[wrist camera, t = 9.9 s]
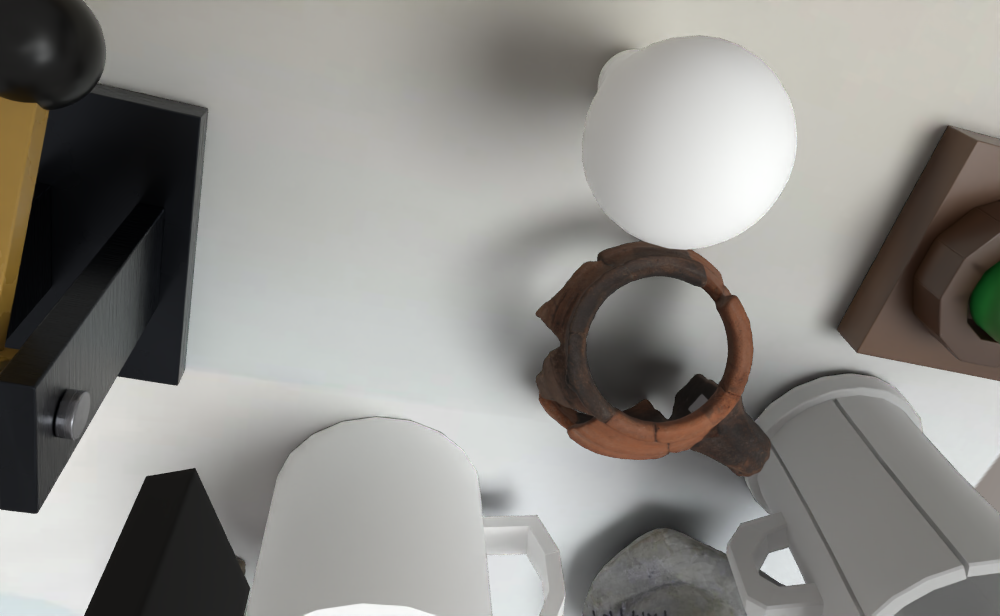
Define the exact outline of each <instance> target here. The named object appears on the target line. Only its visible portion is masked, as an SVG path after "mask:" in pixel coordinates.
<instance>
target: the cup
mask: <svg viewBox="0 0 1000 616" xmlns="http://www.w3.org/2000/svg"><path fill="white" fill-rule="evenodd" d="M755 422H756V423H757V424H758V425H759V426H760V428H761V429H762V430H763V431H764V433H765V434H766V435H767V436H768V437H769V439H770V441H771V449H770V457H769V459H768V460H767V461H766V462H765V464H764V466H763V468H762V470H761V471H760V472H759V473H756V474H754V475H752V476H750V477H745V476H744V478H745V481H746V484H747V486H748V488H749V490H750V492H751V494H752V496H753V497H754V499H755V501H756V502H757V503H758V504H759V505H760V506H761V507H762V508H763V509H764V510H765V511H766V512H767V513H768V514H771V515H768V516H764V517H761V518H757V519H754V520H751V521H747V522H744V523H741V524H740V526H739V527H738V529H737V530H736V532H735V533H734V535H733V536H732V538H731V539H730V541H729V542H728V544H727V552H726V555H727V558H728V561H729V564H730V567H731V570H732V573H733V576H734V579H735V582H736V585H737V588H738V591H739V594H740V597H741V600H742V603H743V606H744V609H745V611H746V614H747V616H1000V514H999V513H998V512H997V511H996V510H995V509H994V508H993V507H992V506H991V505H990V504H989V503H988V502H987V501H986V500H985V499H984V498H983V497H982V496H981V495H980V494H979V493H978V492H977V491H976V490H975V489H974V488H973V487H972V486H971V485H970V484H969V483H968V482H967V480H966V479H965V478H964V477H963V476H962V475H961V474H960V473H959V472H958V471H957V470H956V469H955V468H954V467H953V466H952V465H951V464H950V462H949V461H948V460H947V459H946V458H945V457H944V456H943V455H942V454H941V453H940V451H939V450H938V449H937V448H936V447H935V446H934V445H933V444H932V443H931V442H930V440H929V439H928V438H927V437H926V436H925V435H924V434H923V428H922V423H921V418H920V417H919V415H918V414H917V413H916V411H915V410H914V409H913V407H912V406H911V405H910V403H909V402H908V401H907V400H906V399H905V397H904V396H903V395H902V394H901V393H900V392H899V391H898V390H897V388H895V387H893V386H892V385H890V384H888V383H886V382H884V381H882V380H880V379H879V378H877V377H872V376H865V375H859V374H852V373H849V374H841V375H833V376H825V377H821V378H818V379H815V380H813V381H810V382H808V383H805V384H802V385H800V386H797V387H794V388H793V389H792V390H790V391H789V392H787V393H786V394H784V395H783V396H781V397H780V398H778V399H777V400H775V401H774V402H772V403H771V404H770V405H769V406H768V407H767V408H766V409H765V410H764V411H763V413H762V414H761V415H760V416H759V417H758V418H757V419H756V420H755ZM788 547H789V549H790V551H791V553H792V555H793V557H794V559H795V561H796V563H797V565H798V567H799V569H800V572H801V574H802V576H803V578H804V581H805V583H806V584H801V585H792V586H782V587H779V586H777V585H775V584H774V583H772V582H770V581H768V580H767V579H765V578H763V577H762V576H760V575H759V570H760V568H761V566H762V564H763V563H764V561H765V559H766V557H767V555H768V554H769V553H771V552H774V551H778V550H781V549H784V548H788Z"/></svg>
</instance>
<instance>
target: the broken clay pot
mask: <svg viewBox="0 0 1000 616" xmlns="http://www.w3.org/2000/svg"><path fill="white" fill-rule="evenodd" d="M654 276H665V277H672V278H676V279H680V280H683V281H685V282H687V283H690V284H692V285H694V286H698V287H701V288H703V289H704V290H705V291H706V292H707V293H708V294H709V295H710V296H711V298H712V299H713V300H714V302H715V304H716V308H717V311H718V312H719V314H720V316H721V318H722V321H723V323H724V326H725V330H726V334H727V341H728V358H727V363H726V368H725V372H724V375H723V377H722V379H721V381H720V383H719V385H718V384H716V383H715V382H714V381H713V380H708V379H706V378H705V377H704V376H703V375H701V374H696V375H694V376H693V378H692V379H691V380H690V381H689V382H688V384H687V385H686V386H685V387H684V388H682V389H681V390H680V391H679V392H678V393H677V394H676V396H675V403H674V406H673V412H672V415H671V417H670V418H669V419H666V418H665V417H664V416H663V415H662V414H661V412H659V411H658V410H656V409H654V407H653V405H652V404H651V403H650V401H649V400H647V399H644V400H642V401H641V402H639V403H638V404H636V405H635V406H633V407H631V408H629V409H627V410H625V411H620V410H619V409H617V408H615V407H613V406H612V405H611V404H610V403H609V402H608V401H607V400H606V399H605V398H604V397H603V396H602V394H601V393H600V392H599V390H598V389H597V387H596V385H595V383H594V381H593V379H592V376H591V373H590V370H589V366H588V361H587V353H586V352H587V344H586V337H587V335H588V331H589V328H590V325H591V322H592V321H593V319H594V317H595V314H596V312H597V311H598V309H599V307H600V306H601V305H602V303H603V302H604V301H605V300H606V299H607V297H609V296H610V295H611V294H612V293H614V292H615V291H616V290H617V289H619V288H620V287H622V286H624V285H626V284H628V283H630V282H632V281H636V280H639V279H642V278H647V277H654ZM536 316H537V317H539V318H541V320H542V321H543V322H544V323H545V324H546V326H547V327H548V328H549V329H551V330H552V332H553V333H554V334H555V335H556V336H557V337H558V339H559V341H560V343H561V344H560V347H558V348H557V349H554V350H552V351H551V352H550V353H549V354H548V356H547V357H546V358H545V360H544V363H543V367H542V371H541V372H540V373H539V374H538V375H537V377H536V383H537V386H538V389H539V401H540V403H541V405H542V406H543V408H544V409H545V411H546V412H547V413H548V414H549V415H550V416H551V417H552V418H553V419H555V420H556V421H557V422H558V423H559V424H560V425H562V426H563V427H564V428H566V429H567V433H568V435H569V437H570V438H571V439H572V440H574V441H575V442H576V443H578V444H579V445H581V446H582V447H584V448H586V449H588V450H590V451H593V452H595V453H597V454H601V455H605V456H609V457H613V458H620V459H634V460H645V459H658V458H661V457H664V456H666V455H667V454H669V453H670V452H671V453H677V452H680V451H685V450H689V449H690V450H693V451H696V452H699V453H702V454H704V455H706V456H708V457H710V458H712V459H714V460H716V461H718V462H720V463H722V464H724V465H725V466H727V467H728V468H729V469H730V470H731V471H732V472H734V473H735V474H736V475H737V476H745V477H750V476H752V475H754V474H756V473H759V472H760V471H761V470H762V468H763V466H764V464H765V462H766V461H767V460H768V459H769V457H770V449H771V441H770V439H769V437H768V436H767V435H766V434H765V433H764V431H763V430H762V429H761V428H760V426H759V425H758V424H757V423H756V422H755V421H754V420H752V419H751V418H750V417H749V415H748V414H747V413H746V411H745V410H744V407H743V405H742V397H741V394H742V393H743V391H744V388H745V385H746V383H747V381H748V376H749V373H750V369H751V365H752V358H753V341H752V332H751V328H750V321H749V318H748V317H747V314H746V312H745V310H744V308H743V306H742V304H741V302H740V300H739V299H738V297H737V296H736V295H731V293H730V292H729V290H728V289H727V288H726V287H725V286H724V284H723V280H722V277H721V274H720V272H719V271H718V270H717V269H716V268H715V267H714V266H713V265H712V264H711V263H710V262H708V261H707V260H706V259H705V258H703V257H702V256H701V255H699V254H698V253H696V252H694V251H692V250H690V249H688V250H682V249H670V248H665V247H661V246H658V245H654V244H651V243H647V242H644V241H639V242H632V243H626V244H623V245H619V246H616V247H613V248H609V249H606V250H603V251H601V252H600V253H599V254H598V257H597V261H594V262H593V261H589V262H586V263H584V264H583V265H582V266H581V267H580V268H579V269H578V270H577V271H576V272H575V273H574V274H573V275H572V277H571V278H570V279H569V281H568V282H567V283H566V284H565V286H564V287H563V288H562V289H561V290H560V291H559V292H558V293H557V294H556V295H555V296H554V297H553V298H552V299H551V300H550V301H548V302H546V303H545V304H543V305H542V306H541V307H540V308H539V309H538V310H537V311H536ZM574 409H576V410H578V411H580V412H583V413H580V412H577V411H576V410H574ZM584 413H586V414H584Z"/></svg>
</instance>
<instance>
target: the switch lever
mask: <svg viewBox="0 0 1000 616" xmlns="http://www.w3.org/2000/svg"><path fill="white" fill-rule="evenodd" d="M105 60H106V45H105V39H104V36H103V32H102V29H101V27H100V25H99V22H98V20H97V19H96V17H95V15H94V14H93V12H92V11H91V10H90V8H89V7H88V6H87V5H86V3H85V2H84V1H83V0H0V373H1V372H2V370H3V369H4V368H5V367H6V365H7V364H8V363H9V362H10V360H11V359H12V358H13V357H14V355H15V354H16V353H17V352H18V351H19V350H18V349H12V348H6V347H5V342H6V337H7V331H8V326H9V321H10V316H11V310H12V305H13V300H14V294H15V289H16V284H17V278H18V273H19V268H20V263H21V257H22V252H23V247H24V241H25V236H26V231H27V225H28V220H29V215H30V210H31V204H32V199H33V194H34V188H35V183H36V178H37V173H38V167H39V162H40V157H41V151H42V146H43V141H44V135H45V130H46V125H47V120H48V114H49V110H56V109H60V108H64V107H67V106H70V105H72V104H74V103H76V102H78V101H79V100H81V99H82V98H84V97H85V96H86V95H87V94H89V93H90V92H91V91H92V89H93V88H94V87H95V86H96V84H97V83H98V81H99V79H100V77H101V75H102V73H103V70H104V66H105Z"/></svg>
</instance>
